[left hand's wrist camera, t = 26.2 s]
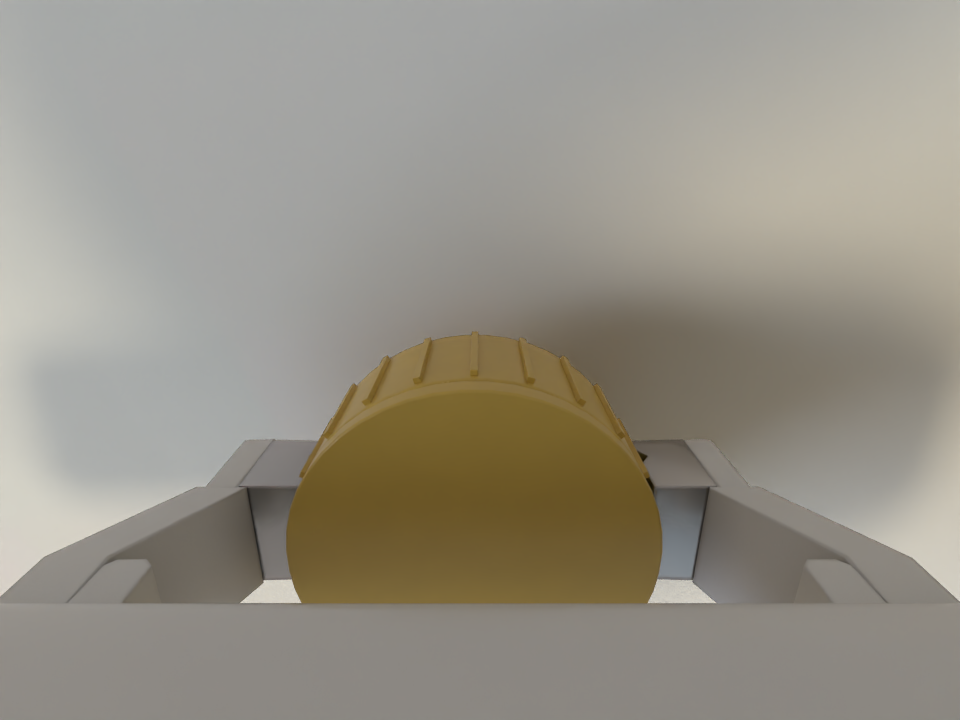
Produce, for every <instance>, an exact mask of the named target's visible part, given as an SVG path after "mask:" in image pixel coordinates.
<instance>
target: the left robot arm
mask: <svg viewBox="0 0 960 720" xmlns="http://www.w3.org/2000/svg"><path fill="white" fill-rule="evenodd" d="M317 442H318V440H274V439H260V440H246V441H244V442H243V443H242V444H241V446H240V447H239V448H238V449H237V450H236V452H235V453H234V454H233V455H232V456H231V457H230V459H229V460H228V461H227V462H226V463H225V465H224V466H223V467H222V468H221V469H220V470H219V472H218V473H217V474H216V475H215V476H214V478H213V479H212V480H211V481H210V482H209V483H208V485H207V486H206V487H195V488H193V489H191V490H189V491H187V492H185V493H182V494H180V495H178V496H176V497H174V498H172V499H169V500H167V501H165V502H163V503H161V504H158V505H156V506H154V507H152V508H150V509H148V510H145V511H143V512H141V513H139V514H137V515H135V516H132V517H130V518H128V519H126V520H124V521H121V522H119V523H117V524H115V525H113V526H111V527H108V528H106V529H104V530H102V531H100V532H98V533H95V534H93V535H91V536H89V537H87V538H84V539H82V540H80V541H78V542H76V543H74V544H71V545H69V546H67V547H65V548H63V549H60V550H58V551H56V552H54V553H52V554H50V555H47V556H45V557H44V558H43V559H41V560H40V561H39V562H38V563H37V564H36V565H35V566H34V567H33V568H31V569H30V570H29V571H28V572H27V573H26V574H25V575H24V576H23V577H22V578H20V579H19V580H18V581H17V582H16V583H15V584H14V585H13V586H12V587H11V588H9V589H8V590H7V591H6V592H5V593H4V594H3V595H2V596H1V597H0V720H960V602H959V601H958V600H957V599H956V598H955V597H954V596H953V595H952V594H951V593H950V592H949V591H947V590H946V589H945V588H944V587H943V586H942V585H941V584H940V583H939V582H938V581H937V580H936V579H934V578H933V577H932V576H931V575H930V574H929V573H928V572H927V571H926V570H925V569H924V568H923V567H921V566H920V565H919V564H918V563H917V562H916V561H915V560H914V559H913V558H911V557H909V556H907V555H905V554H903V553H901V552H898V551H896V550H894V549H892V548H890V547H888V546H886V545H883V544H881V543H879V542H877V541H875V540H873V539H870V538H868V537H866V536H864V535H862V534H860V533H858V532H855V531H853V530H851V529H849V528H847V527H845V526H842V525H840V524H838V523H836V522H834V521H832V520H829V519H827V518H825V517H823V516H821V515H819V514H817V513H814V512H812V511H810V510H808V509H806V508H804V507H801V506H799V505H797V504H795V503H793V502H791V501H789V500H786V499H784V498H782V497H780V496H778V495H776V494H773V493H771V492H769V491H767V490H765V489H763V488H760V487H750V486H749V485H748V483H747V482H746V481H745V480H744V479H743V477H742V476H741V475H740V474H739V473H738V471H737V470H736V469H735V468H734V467H733V465H732V464H731V463H730V462H729V461H728V460H727V458H726V457H725V456H724V455H723V454H722V452H721V451H720V450H719V449H718V448H717V446H716V445H715V444H714V443H713V442H712V441H710V440H708V439H696V440H647V441H632V443H633V445H634V446H635V448H636V450H637V452H638V454H639V456H640V458H641V459H642V461H643V463H644V465H645V467H646V469H647V471H648V473H649V475H650V477H649V478H646V480H647V482H648V484H649V486H650V488H651V490H652V492H653V495H654V498H655V501H656V504H657V507H658V510H659V514H660V520H661V526H662V558H661V564H660V571H659V575H658V578H657V579H671V580H693V583H694V584H695V585H696V586H698V587H699V588H700V589H701V590H702V591H703V592H705V593H706V594H707V595H708V596H709V597H710V598H712V599H713V600H714V601H715V602H716V603H240V602H241V601H242V600H244V599H245V598H246V597H247V596H248V595H250V594H251V593H252V592H253V591H254V590H255V589H257V588H258V587H259V586H260V585H261V584H262V583H263V580H284V579H292V578H291V575H290V572H289V566H288V560H287V553H286V528H287V522H288V517H289V511H290V507H291V504H292V502H293V499H294V496H295V493H296V490H297V488H298V486H299V484H300V483H301V481H302V479H303V478H300V477H299V475H300V472H301V470H302V469H303V467H304V465H305V463H306V462H307V460H308V458H309V456H310V455H311V453H312V451H313V449H314V448H315V446H316V444H317Z"/></svg>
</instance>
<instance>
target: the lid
mask: <svg viewBox="0 0 960 720" xmlns="http://www.w3.org/2000/svg"><path fill="white" fill-rule="evenodd" d="M299 477H300V478H303V479H302V481H301V483H300V484H299V486H298V488H297V490H296V493H295V496H294V499H293V502H292V504H291V507H290V511H289V517H288V522H287V528H286V553H287V560H288V566H289V572H290V575H291V578H292V581H293V584H294V588H295V590H296V592H297V594H298V596H299V598H300V601H301V603H648V601H649V599H650V597H651V595H652V593H653V590H654V587H655V584H656V581H657V578H658V575H659V571H660V564H661V558H662V526H661V520H660V514H659V510H658V507H657V504H656V501H655V498H654V495H653V492H652V490H651V488H650V486H649V484H648V482H647V480H646V478H649V477H650V475H649V473H648V471H647V469H646V467H645V465H644V463H643V461H642V459H641V458H640V456H639V454H638V452H637V450H636V448H635V446H634V445H633V443H632V441H631V439H630V437H629V435H628V433H627V432H626V430H625V428H624V426H623V424H622V422H621V420H620V419H619V418H618V419H617V418H616V416H615V414H614V412H613V410H612V408H611V407H610V405H609V403H608V401H607V399H606V397H605V395H604V393H603V391H602V389H601V388H600V386H599V385H598V384H595V385H594V386H593V385H592V384H591V383H590V382H589V381H588V380H587V379H586V378H585V377H584V376H583V375H582V374H581V373H580V372H579V371H578V370H576V369H575V368H574V367H572V366H571V365H570V363H569V360H568V358H566V357H565V356H562V357H561V358H559V357H557V356H555V355H554V354H552V353H550V352H548V351H546V350H544V349H541V348H539V347H536V346H534V345H531V344H529V343H526V339H524V338H519V341H518V340H514V339H510V338H505V337H497V336H489V335H478V332H472V335H462V336H453V337H445V338H441V339H437V340H433V341H432V340H431V338H426V339H425V340H424V343H422V344H419V345H417V346H414V347H412V348H409V349H406V350H404V351H402V352H400V353H399V354H397V355H395V356H393V357H391V358H389V357H388V356H386V357H384V358H383V359H382V361H381V363H380V365H379V366H378V367H377V368H375V369H374V370H373V371H371V372H370V373H369V374H368V375H367V376H366V377H365V378H364V379H363V380H362V381H361V382H360V383H359V384H358V385H355V384H353V385H352V386H351V387H350V388H349V390H348V392H347V394H346V396H345V397H344V399H343V401H342V403H341V404H340V406H339V408H338V410H337V411H336V413H335V415H334V417H333V418H331V420H330V421H329V423H328V425H327V427H326V428H325V430H324V432H323V434H322V435H321V437H320V439H319V441H318V442H317V444H316V446H315V448H314V449H313V451H312V453H311V455H310V456H309V458H308V460H307V462H306V463H305V465H304V467H303V469H302V470H301V472H300V475H299Z"/></svg>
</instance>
